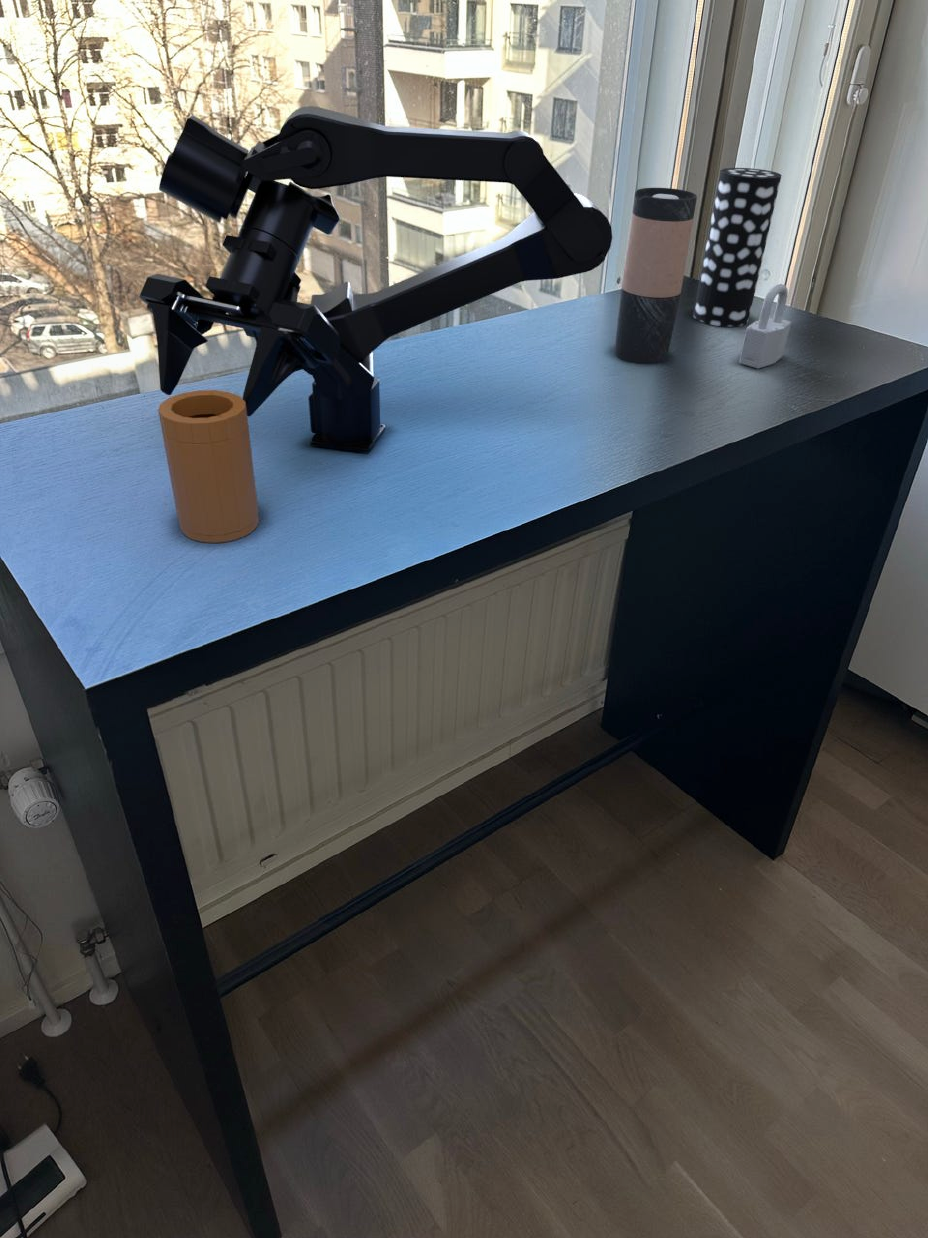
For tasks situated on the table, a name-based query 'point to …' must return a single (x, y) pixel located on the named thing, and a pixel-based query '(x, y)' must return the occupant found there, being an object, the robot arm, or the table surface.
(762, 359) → the padlock
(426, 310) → the robot arm
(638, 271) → the travel mug
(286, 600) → the table surface
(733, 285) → the white-spotted black cylinder
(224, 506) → the jar
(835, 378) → the table surface
